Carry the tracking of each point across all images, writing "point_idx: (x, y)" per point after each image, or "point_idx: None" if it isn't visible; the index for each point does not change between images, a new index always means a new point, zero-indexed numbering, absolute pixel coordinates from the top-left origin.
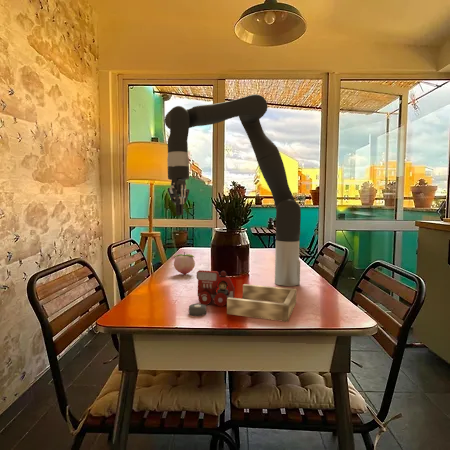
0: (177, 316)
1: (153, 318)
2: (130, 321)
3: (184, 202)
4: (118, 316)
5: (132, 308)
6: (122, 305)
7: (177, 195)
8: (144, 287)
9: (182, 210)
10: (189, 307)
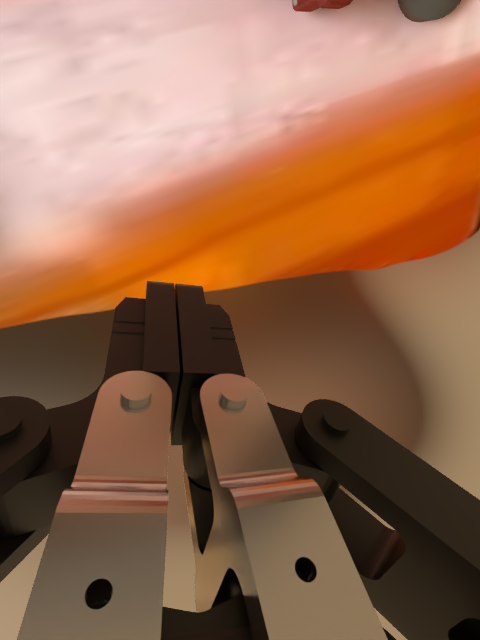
0: (447, 58)
1: (450, 133)
2: (460, 186)
3: (24, 415)
4: (422, 231)
5: (366, 226)
6: (341, 262)
7: (443, 522)
8: None
9: (176, 310)
10: (448, 13)
